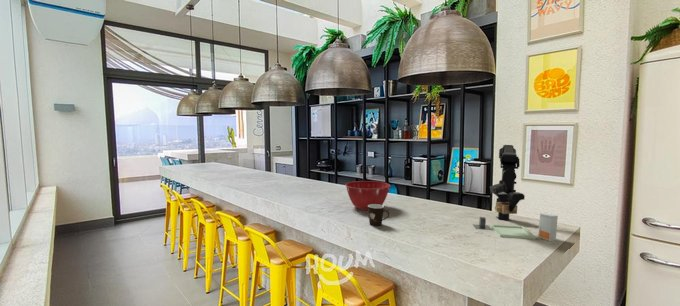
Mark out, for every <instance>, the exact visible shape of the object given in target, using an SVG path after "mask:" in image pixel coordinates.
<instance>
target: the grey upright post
mask: <svg viewBox="0 0 680 306" xmlns="http://www.w3.org/2000/svg"><path fill="white" fill-rule="evenodd" d="M486 220H487V218H486V217H484V216H479V222H478V224H476V223H475V224H472V226H473V227H474V229H475V230H481V231H482V230H483V231H493V229H492V228H491V227H490V225H488V224H487V225H486Z"/></svg>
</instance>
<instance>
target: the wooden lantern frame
mask: <svg viewBox="0 0 680 306" xmlns="http://www.w3.org/2000/svg"><path fill="white" fill-rule="evenodd" d="M494 212H495V213H498V212H501V213H503V214H509V215H512V214H513V215H517V213H518V204H517V205H516V207H515V208H514V210H513V211H512V212H510V211H509V202H496V201H495V206H494Z"/></svg>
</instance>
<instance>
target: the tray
mask: <svg viewBox="0 0 680 306" xmlns="http://www.w3.org/2000/svg"><path fill="white" fill-rule="evenodd" d="M489 227H490V228H491V229H492V231H493V232H495V233H496V234H497V235H498V237H500V238H514V239H524V240H525V239H527V240H528V239H529V240H537V236H536V235H535V234H533V232H531V231H530V230H528V229H527V228H526V227H524V226H522V225H506V224H505V225H504V224H492V223H491V224H489Z"/></svg>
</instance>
